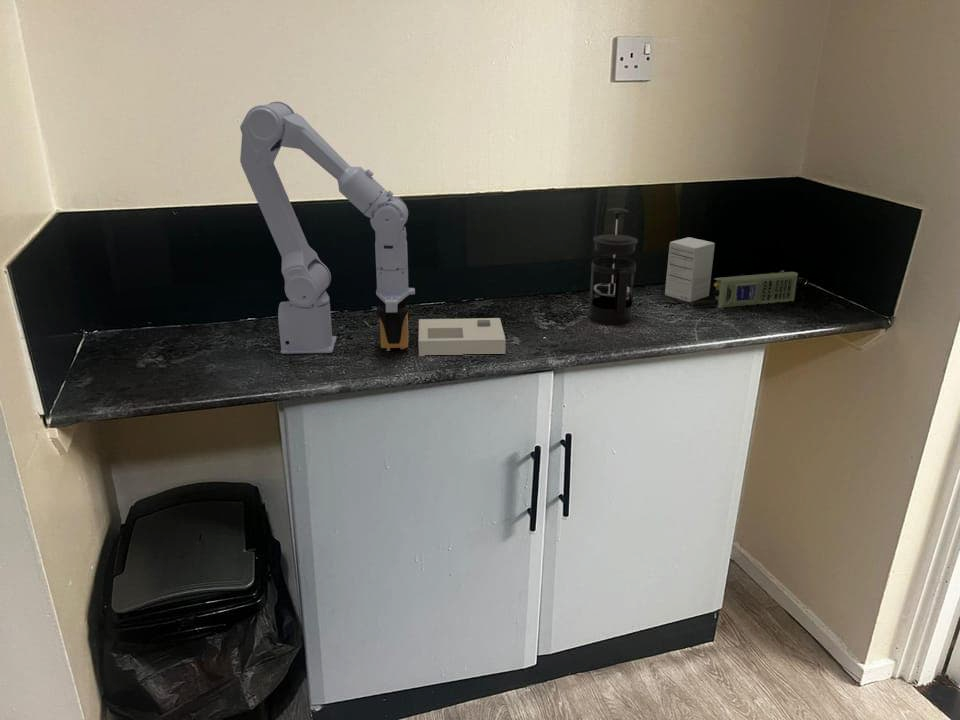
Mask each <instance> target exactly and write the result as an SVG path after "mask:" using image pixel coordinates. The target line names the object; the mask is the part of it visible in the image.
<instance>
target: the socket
mask: <svg viewBox="0 0 960 720" xmlns="http://www.w3.org/2000/svg"><path fill="white" fill-rule="evenodd" d="M501 320H502V319H501V318H500V317H487V318H484V317H483V318H482V317H480V318H479V317H477V318H476V317H474V318H427V319H425V318H424V319H423V318H420V319H418V357H426V356H425V355H463V354H505V355H506V345H507V344H506V341H507V339H506V336H505V331H504V329H503V325H502V321H501ZM463 356H464V355H463Z"/></svg>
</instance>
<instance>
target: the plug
mask: <svg viewBox="0 0 960 720" xmlns="http://www.w3.org/2000/svg"><path fill="white" fill-rule="evenodd" d="M408 313H409V311H408V312H407V315H406V316H405V319H404V322H403V326H402V333H401V340H400V343H399V344H388V341H387V338H386V333H385V329H384V326H383V323H382V321H381V319H380V318H379V331H380V334H379V335H380V348H381V349H386V352H387V351H390V352H391V349H399V348H400V350H405V349H406V348H409V320H408V318H409V314H408Z"/></svg>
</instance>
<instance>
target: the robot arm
mask: <svg viewBox="0 0 960 720" xmlns="http://www.w3.org/2000/svg"><path fill="white" fill-rule="evenodd" d="M239 127H240V132H241V145H240V157H239V158H240V159H239V162H240V165H241V168H242V170H243V173H244V175H245V177H246V179H247V181H248V184H249V186H250V188H251V190H252V193H253V195H254V197H255V200H256V202H257V204H258V207H259V209H260V211H261V213H262V215H263V218H264V220H265V223H266V224H267V227H268V229H269V232H270V234H271V235H272V239H273V240H274V243H275V245H276V247H277V249H278V252H279V254H280V256H281V274H282V277H283V279H284V292H285V296H286V297H287V299H288V300H287V301H281V302H280V303H279V305H278V311H277V312H278V313H277V315H278V316H277V318H278V319H277V320H278V322H277V323H278V330H279V331H278V332H279V339H280V340H279V341H280V354H283V355H284V354H287V355H288V354H290V355H291V354H330V353H333V352H334V348H335V345H336V342H337V335H333V333H332V331H333V330H332V318H331V317H332V316H331V303H330V302H331V301H330V296H329V294H328V293H327V289H328V288H329V286H330V284H331V281H332V275H331V272H330V269H329V268H328V267H327V265H325V264H324V263H323V262H322V261H321V259H320V258H319V256H318V253H317V252H316V251H315V250H314V249H313V248H312V247H311V246H310V245H309V243H308V240H307V239H306V236H305V234H304V232H303V229H302V227H301V225H300V222H299V220H298V217H297V215H296V213H295V211H294V208H293V206H292V203H291V201H290V199H289V196H288V193H287V191H286V189H285V187H284V184H283V182H282V180H281V177H280V175H279V173H278V170H277V168H276V166H275V161H276V159H277V156H278V154H279V151H280V149H281V148H282V147H284V148H290V149H296V150H300V151H302V152H303V153H304V154H305V155H307V156H308V157H310V159H312V160H313V161H314V162H315V163H316V164H318V166H320V167H321V168H322V169H324V170H325V171H326V172H327V173H328V174H330V175H331V177H333V178H334V179H335V180H336V181H337V185H338V191H339V193H341V194H342V195H343V196H344V197H345V199H347V201H348V202H350V203H351V204H352V205H354V207H355V208H356V209H358V210H359V211H360V212H361V213H362V214H363V215H364V216H365V217H367V218H370V219H369V222H370V226H371V227H372V229H373V230H374V233H375V242H374V248H375V249H374V250H375V251H374V253H375V268H376V269H375V272H376V289H375V293H376V296H377V297H378V299H379V300H380V302H381V304H382V305H377V306H376V313H377V316H378V317H379V320H380V319H381V321H382V323H383V326H384V329H385V333H386V338H387V341H388V344H399V343H400V340H401V333H402V326H403V322H404V319H405V316H406V315H407V312H408V313H409V307H406V305H407V303H408V300H409V298H410V295H411V296H412V295H415V294H416V289H415V287H409V264H408V263H409V261H408V260H409V259H408V258H409V257H408V241H407V228H406V226H405V224H406V223H407V221H408V219H409V218H408V217H409V210H408V207H407V204H406V203H405V202H404V201H403V199H402V198H400V197H398V196H396V195H394V192H392V191H391V190H390V189H389V190H388V191H387V189H385V188H384V187H383V186H382V185H381V184H380V183H379V182H378V181H377V180H376V179H375V178H374V177H373V175H374V173H373V172H372V171H371V170H370V169H366V170H365V169H364V168H363V167H362V166H351V165H350V164H349V163H347V162H346V160H345V159H344V158H342V156H341V155H340V154H339V153H338V152H337V151H336V150H335V149H334V148H333V147H332V146H331V145H330V144H329V143H328V142H327V141H326V139H324V137H322V135H321V134H319V132H317V131H316V129H314V128H313V127H312V126H311V124H310V123H309V122H308V121H307V120H306V119H305V118H304V116H303V115H301V114H299V113H298V112H295V111H294V109H293V108H292V107H291V106H290V105H288V104H287V103H285V102H282V101H272V102H270V103H268V104H264V105H263V104H260V105H255V106H253V107H252V108H250V109H249V110H248V111H247V113H246V115H245V116H244V118H243V120H242V122H241V124H240V126H239Z"/></svg>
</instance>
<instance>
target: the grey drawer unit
mask: <svg viewBox="0 0 960 720" xmlns="http://www.w3.org/2000/svg"><path fill="white" fill-rule="evenodd" d="M715 245H716V243H715V242H712V241H708V240H705V239H698V238H694V237H690V236H688V237H685V238H681V239H675V240H673V241H670V242H669V247H668V255H667V256H668V257H667V258H668V259H667V269H666V278H665V279H666V280H665V289H664V295H665V296H667V297H669V298H674V299H677V300H681V301H684V302H688V303H693V302H694V301H699V300H701V299H704V298H706V297H709V296H710V289H711V279H712V273H713V271H712V270H713V264H714V263H713V262H714V254H715V247H716V246H715Z"/></svg>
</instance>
